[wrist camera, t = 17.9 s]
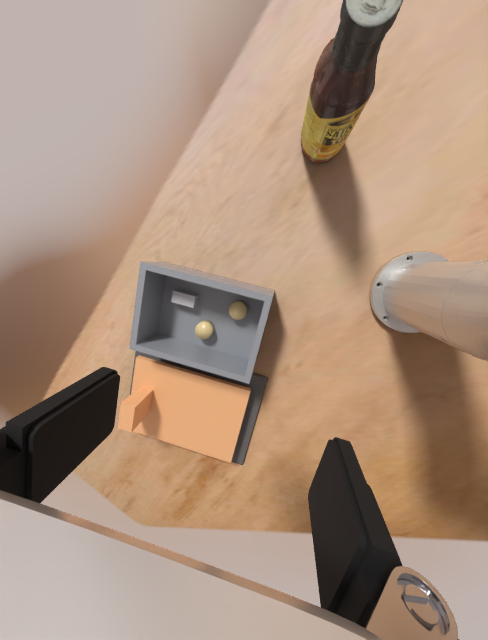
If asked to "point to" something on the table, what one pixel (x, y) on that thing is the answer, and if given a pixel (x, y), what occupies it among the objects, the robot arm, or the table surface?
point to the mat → (252, 406)
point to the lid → (184, 408)
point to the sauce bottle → (345, 76)
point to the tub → (199, 319)
